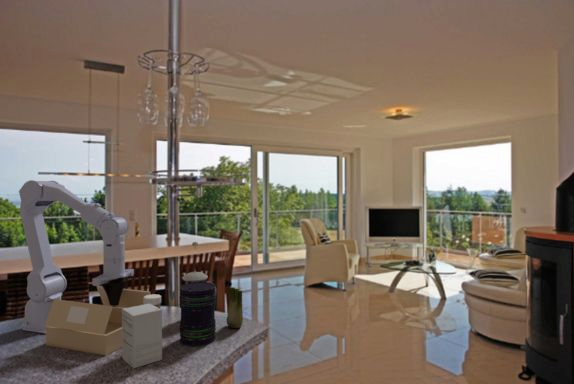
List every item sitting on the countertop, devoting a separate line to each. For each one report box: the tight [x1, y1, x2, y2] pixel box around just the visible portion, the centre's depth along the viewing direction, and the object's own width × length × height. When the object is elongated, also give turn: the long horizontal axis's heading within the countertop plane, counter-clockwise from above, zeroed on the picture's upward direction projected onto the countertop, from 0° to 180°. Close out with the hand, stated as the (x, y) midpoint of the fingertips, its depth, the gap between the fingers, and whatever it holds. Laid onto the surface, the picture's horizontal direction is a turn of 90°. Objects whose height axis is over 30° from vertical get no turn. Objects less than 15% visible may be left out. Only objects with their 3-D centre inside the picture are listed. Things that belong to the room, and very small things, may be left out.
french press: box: [178, 241, 217, 323], centre depth 132 cm, size 10×12×25 cm
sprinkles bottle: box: [143, 293, 162, 309], centre depth 110 cm, size 5×5×14 cm
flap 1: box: [45, 299, 114, 335], centre depth 108 cm, size 19×7×1 cm
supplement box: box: [121, 304, 163, 369], centre depth 101 cm, size 7×7×13 cm
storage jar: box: [179, 281, 217, 348], centre depth 115 cm, size 10×10×15 cm
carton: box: [45, 306, 123, 356], centre depth 116 cm, size 20×20×5 cm
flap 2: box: [96, 285, 152, 309], centre depth 125 cm, size 19×7×1 cm
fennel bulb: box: [226, 286, 244, 329], centre depth 125 cm, size 6×5×12 cm
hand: (114, 305), depth 120 cm, fingers closed
